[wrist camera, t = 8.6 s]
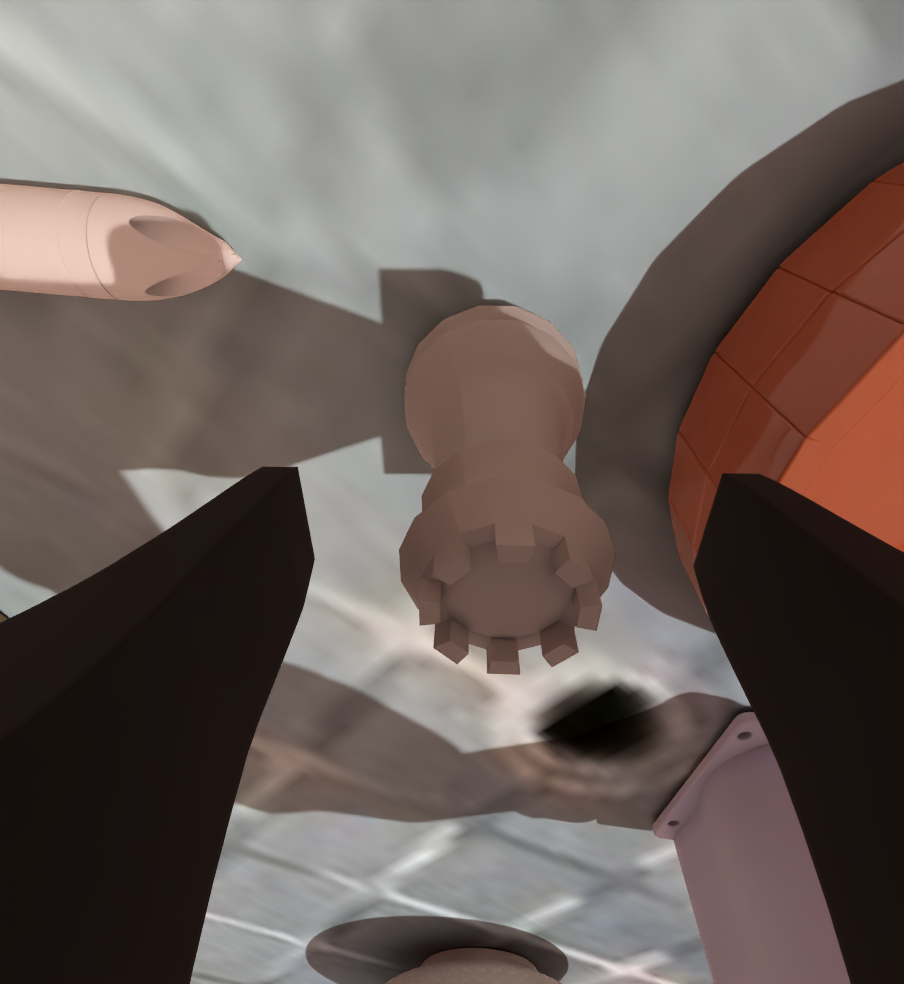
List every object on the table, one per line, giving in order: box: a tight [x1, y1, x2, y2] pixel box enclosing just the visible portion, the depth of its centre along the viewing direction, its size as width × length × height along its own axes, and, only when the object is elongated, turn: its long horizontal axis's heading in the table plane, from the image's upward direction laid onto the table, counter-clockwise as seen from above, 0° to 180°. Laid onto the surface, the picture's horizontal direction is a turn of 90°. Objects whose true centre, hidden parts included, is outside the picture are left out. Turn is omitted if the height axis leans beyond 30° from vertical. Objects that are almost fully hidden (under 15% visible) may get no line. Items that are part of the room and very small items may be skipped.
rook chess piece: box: [399, 305, 615, 674], centre depth 11 cm, size 4×4×8 cm
